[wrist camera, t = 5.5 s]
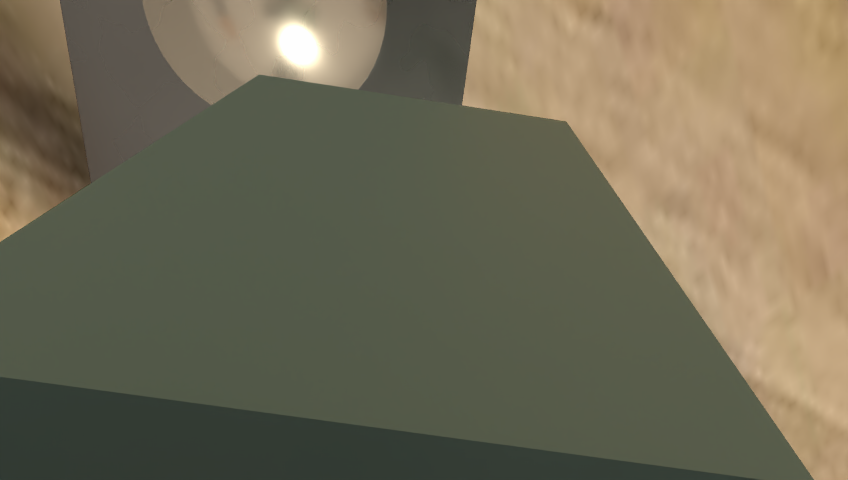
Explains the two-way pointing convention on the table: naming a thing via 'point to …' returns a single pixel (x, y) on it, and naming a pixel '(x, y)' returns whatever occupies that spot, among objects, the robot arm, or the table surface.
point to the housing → (361, 310)
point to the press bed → (248, 57)
